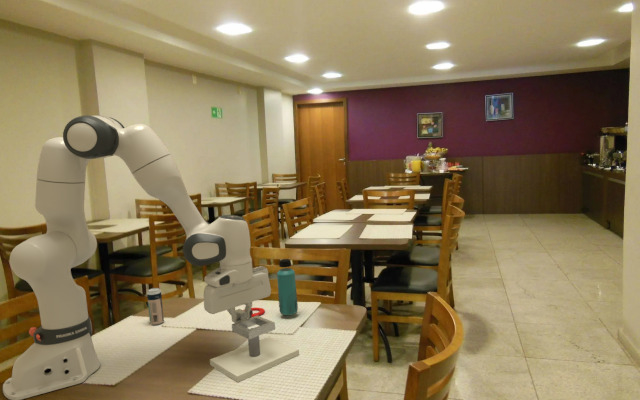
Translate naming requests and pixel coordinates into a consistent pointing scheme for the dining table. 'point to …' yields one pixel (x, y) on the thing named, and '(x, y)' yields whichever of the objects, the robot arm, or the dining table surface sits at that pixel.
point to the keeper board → (253, 358)
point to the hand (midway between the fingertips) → (240, 319)
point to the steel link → (244, 323)
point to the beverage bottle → (287, 288)
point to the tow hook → (256, 313)
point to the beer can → (155, 306)
